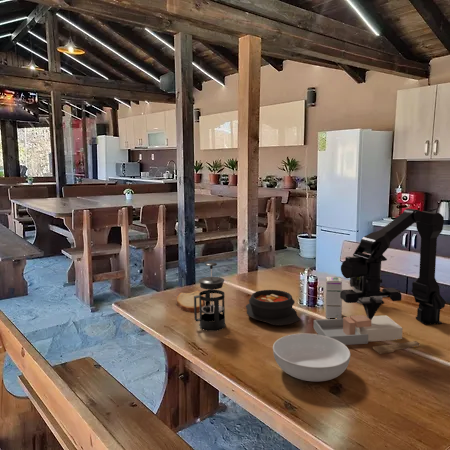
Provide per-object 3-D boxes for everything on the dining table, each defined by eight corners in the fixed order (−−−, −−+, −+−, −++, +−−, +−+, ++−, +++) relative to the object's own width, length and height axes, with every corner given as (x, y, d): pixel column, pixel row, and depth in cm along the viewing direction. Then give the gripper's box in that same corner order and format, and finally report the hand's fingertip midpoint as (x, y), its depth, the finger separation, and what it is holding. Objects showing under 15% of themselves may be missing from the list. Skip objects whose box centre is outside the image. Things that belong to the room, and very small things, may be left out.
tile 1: (348, 316, 140) (343, 317, 140) (355, 322, 135) (349, 323, 135) (348, 330, 141) (343, 331, 140) (355, 337, 136) (349, 337, 135)
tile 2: (363, 320, 140) (363, 314, 140) (371, 326, 136) (371, 320, 135) (349, 321, 139) (349, 316, 139) (357, 327, 135) (357, 321, 134)
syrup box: (341, 319, 152) (343, 281, 150) (325, 318, 153) (326, 280, 151) (340, 313, 157) (341, 276, 155) (324, 312, 159) (325, 276, 156)
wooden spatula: (413, 342, 132) (413, 339, 132) (421, 347, 129) (421, 344, 128) (372, 348, 128) (372, 345, 128) (379, 353, 125) (380, 350, 125)
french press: (221, 318, 154) (220, 258, 151) (231, 328, 146) (230, 264, 142) (191, 324, 150) (189, 262, 146) (199, 333, 141) (198, 268, 138)
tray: (351, 326, 146) (351, 318, 145) (367, 343, 132) (368, 334, 131) (313, 328, 145) (313, 319, 144) (326, 345, 131) (326, 336, 130)
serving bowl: (336, 401, 101) (337, 375, 100) (259, 378, 112) (259, 354, 111) (358, 365, 118) (359, 342, 117) (290, 348, 129) (290, 327, 128)
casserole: (312, 324, 148) (312, 301, 147) (266, 334, 140) (266, 310, 139) (275, 303, 170) (275, 283, 169) (234, 310, 163) (234, 289, 162)
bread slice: (197, 314, 160) (197, 305, 159) (162, 306, 169) (161, 297, 169) (222, 301, 175) (222, 292, 174) (188, 294, 184) (188, 286, 184)
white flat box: (386, 326, 145) (386, 315, 144) (401, 339, 134) (402, 328, 134) (352, 327, 144) (353, 316, 144) (366, 341, 133) (366, 329, 133)
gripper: (387, 267, 144) (385, 310, 147) (335, 269, 143) (333, 312, 145) (403, 276, 133) (401, 322, 136) (347, 278, 132) (345, 324, 134)
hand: (369, 319), depth 138 cm, fingers closed
